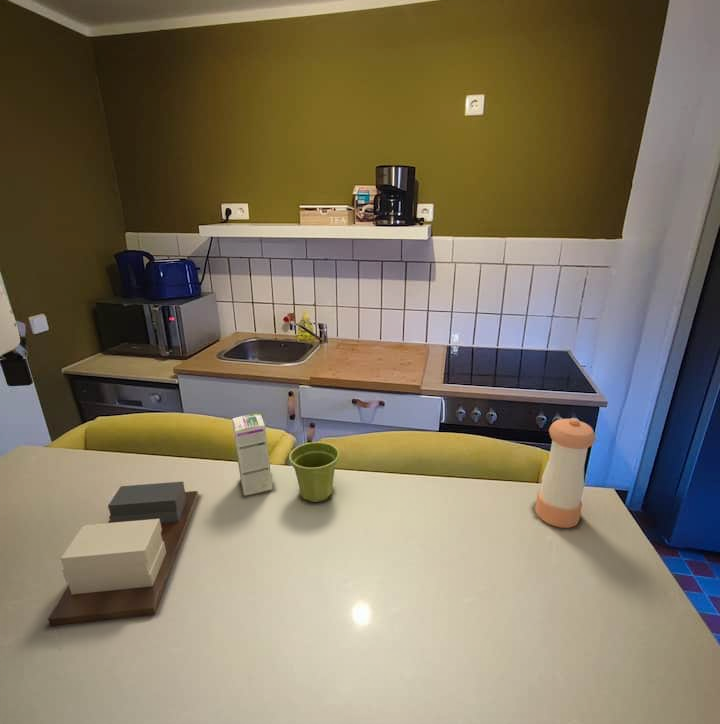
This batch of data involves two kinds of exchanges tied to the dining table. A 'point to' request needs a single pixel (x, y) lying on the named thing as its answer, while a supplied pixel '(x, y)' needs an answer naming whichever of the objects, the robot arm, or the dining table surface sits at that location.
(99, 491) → the dining table surface
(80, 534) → the white book
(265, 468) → the syrup box
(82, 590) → the white stack
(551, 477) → the pepper shaker
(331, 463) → the plant pot
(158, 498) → the grey stack
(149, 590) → the shelf board
